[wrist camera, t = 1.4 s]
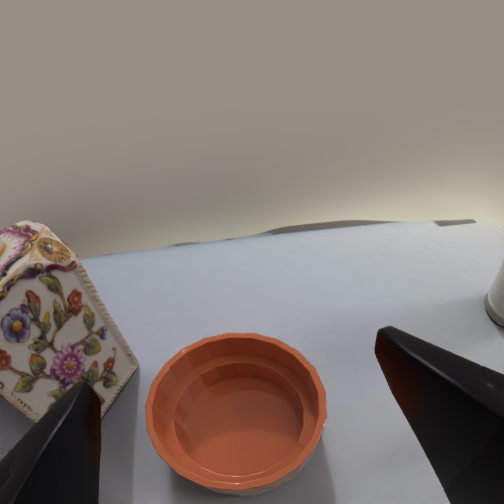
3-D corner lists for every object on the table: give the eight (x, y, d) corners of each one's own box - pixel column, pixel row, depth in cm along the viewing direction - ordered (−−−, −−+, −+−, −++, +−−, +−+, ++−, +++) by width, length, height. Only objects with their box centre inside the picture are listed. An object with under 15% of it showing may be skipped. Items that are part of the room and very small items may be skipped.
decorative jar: (80, 454, 18) (-75, 321, 7) (20, 393, 22) (-82, 270, 11) (145, 362, 26) (60, 196, 15) (77, 324, 30) (6, 193, 20)
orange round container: (347, 440, 19) (364, 418, 15) (214, 520, 14) (195, 520, 11) (263, 347, 27) (260, 309, 24) (150, 404, 23) (124, 375, 19)
